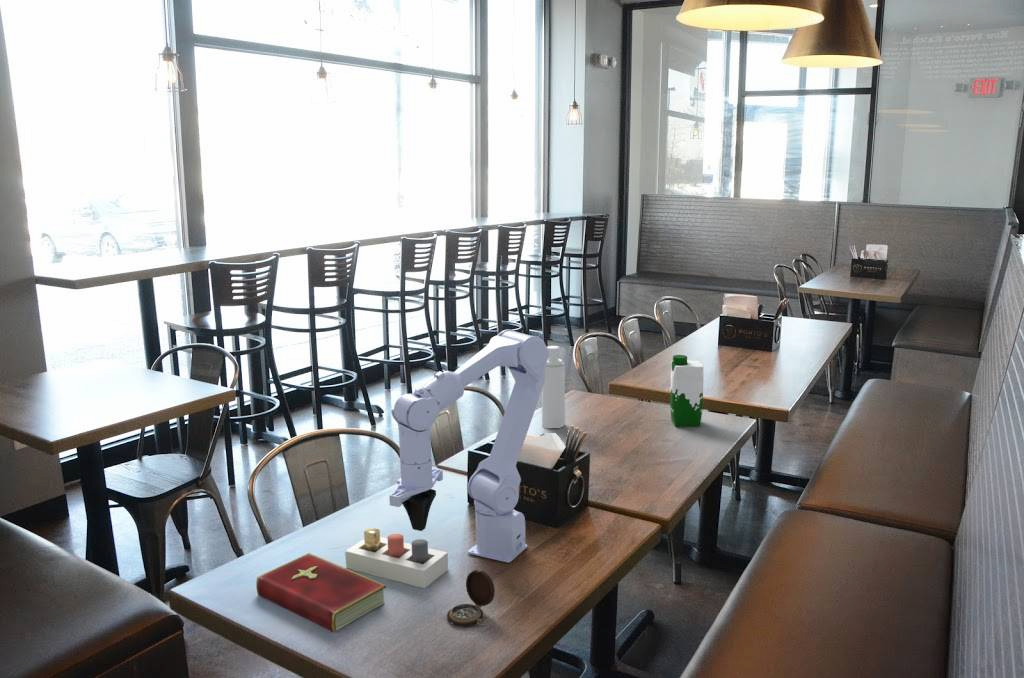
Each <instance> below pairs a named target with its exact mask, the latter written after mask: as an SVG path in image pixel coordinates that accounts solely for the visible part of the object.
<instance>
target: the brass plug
mask: <svg viewBox="0 0 1024 678" xmlns="http://www.w3.org/2000/svg"><path fill="white" fill-rule="evenodd" d="M363 536H364V537H363V539H364V540H365V550H367V551H371V552H376V551H378V550H379V549H381V544H380V537H381V531H380V529H379V528H376V527H375V528H373V527H372V528H368V529H366V530H364V531H363Z"/></svg>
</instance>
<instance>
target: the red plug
mask: <svg viewBox="0 0 1024 678" xmlns="http://www.w3.org/2000/svg"><path fill="white" fill-rule="evenodd" d="M386 538H387V540H388V556H391V557H395V558H400V557H401V556H403V555H404V542H405V541H404V535H403V534H402V533H401V534H400V533H392V534H390V535H388V536H387V537H386Z"/></svg>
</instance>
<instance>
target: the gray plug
mask: <svg viewBox="0 0 1024 678" xmlns="http://www.w3.org/2000/svg"><path fill="white" fill-rule="evenodd" d="M428 543H429V542H428V540H427V539H424V538H423V539H422V538H417V539H415V540H413V541H412V542H411V544H412V562H415V563H420V564H424V563H426V562H427V561H428V548H429V545H428Z"/></svg>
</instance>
